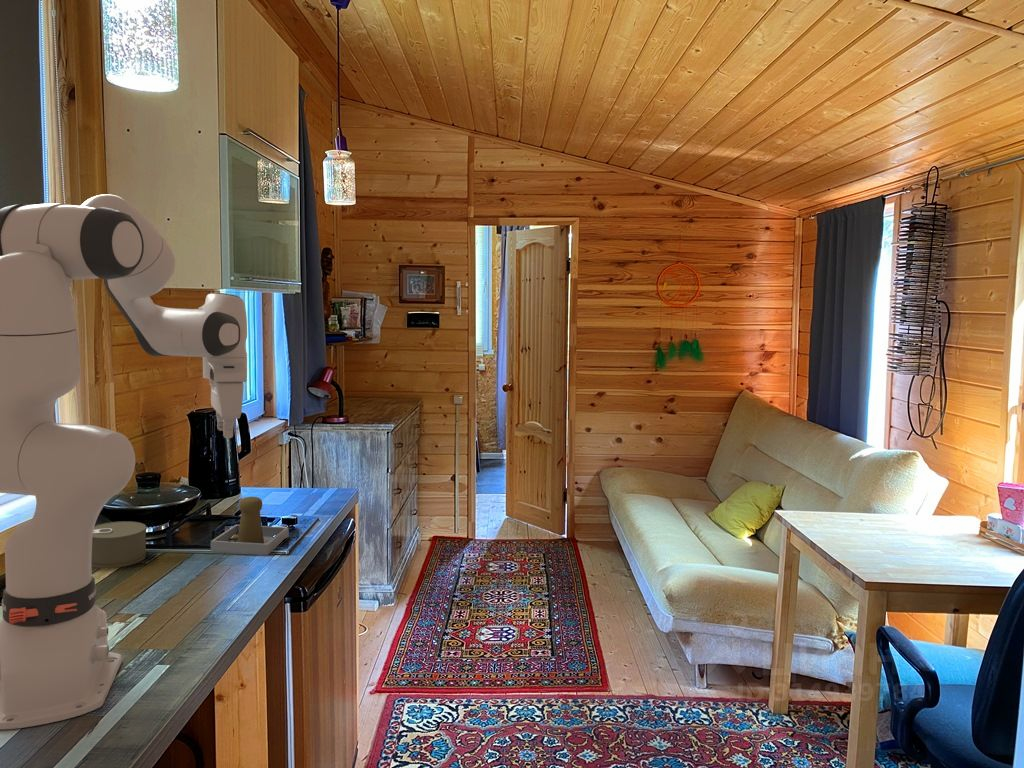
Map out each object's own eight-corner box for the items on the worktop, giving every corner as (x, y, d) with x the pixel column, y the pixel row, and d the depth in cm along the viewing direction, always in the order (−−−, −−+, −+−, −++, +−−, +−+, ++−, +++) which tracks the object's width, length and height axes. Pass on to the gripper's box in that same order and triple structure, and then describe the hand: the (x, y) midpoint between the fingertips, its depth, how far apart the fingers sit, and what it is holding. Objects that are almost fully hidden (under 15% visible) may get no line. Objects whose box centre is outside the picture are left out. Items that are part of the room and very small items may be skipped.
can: (147, 564, 161) (146, 534, 161) (83, 572, 156) (82, 540, 155) (146, 547, 172) (145, 519, 171) (86, 554, 166) (86, 524, 166)
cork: (255, 548, 172) (255, 502, 171) (231, 545, 173) (231, 499, 172) (269, 540, 178) (269, 495, 176) (246, 538, 179) (246, 493, 178)
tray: (267, 557, 168) (267, 544, 168) (210, 554, 169) (210, 541, 169) (288, 539, 181) (288, 527, 181) (235, 536, 182) (235, 524, 182)
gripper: (203, 365, 166) (203, 426, 168) (215, 374, 148) (215, 442, 150) (233, 365, 169) (233, 425, 171) (248, 374, 151) (247, 441, 153)
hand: (225, 433), depth 160 cm, fingers open, 8 cm apart
